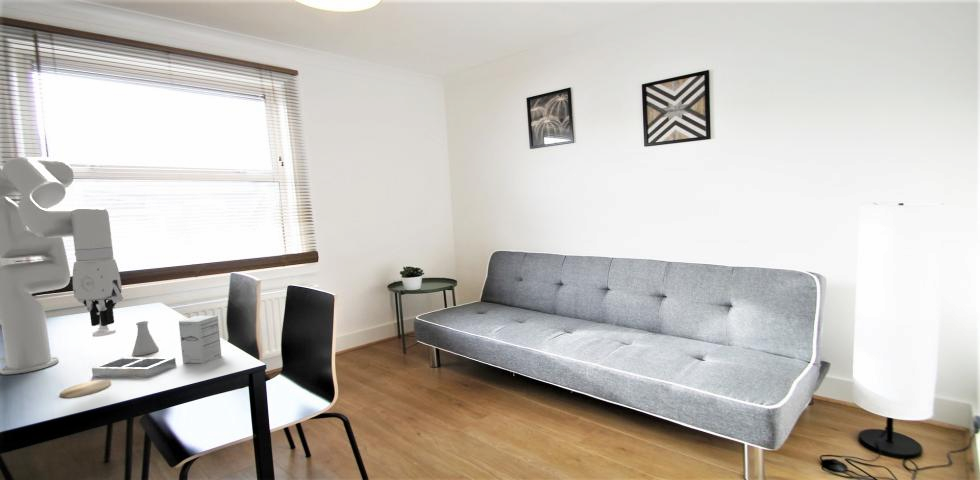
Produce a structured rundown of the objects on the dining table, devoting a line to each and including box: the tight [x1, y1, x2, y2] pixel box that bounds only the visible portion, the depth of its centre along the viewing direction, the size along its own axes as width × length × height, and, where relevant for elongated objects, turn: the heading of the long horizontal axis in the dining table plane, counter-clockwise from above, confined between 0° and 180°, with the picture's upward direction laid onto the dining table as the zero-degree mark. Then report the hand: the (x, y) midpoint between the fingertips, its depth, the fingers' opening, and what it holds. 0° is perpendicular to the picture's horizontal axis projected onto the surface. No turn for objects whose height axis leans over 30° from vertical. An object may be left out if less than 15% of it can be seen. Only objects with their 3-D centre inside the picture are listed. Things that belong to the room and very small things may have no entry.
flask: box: [131, 320, 160, 357], centre depth 151 cm, size 7×7×10 cm
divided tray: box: [91, 356, 177, 378], centre depth 134 cm, size 18×9×2 cm, turn 80°
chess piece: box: [91, 300, 117, 338], centre depth 124 cm, size 5×5×10 cm
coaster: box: [59, 379, 112, 399], centre depth 121 cm, size 10×10×1 cm
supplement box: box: [178, 315, 222, 364], centre depth 141 cm, size 7×7×13 cm
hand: (103, 324), depth 125 cm, fingers closed on chess piece
